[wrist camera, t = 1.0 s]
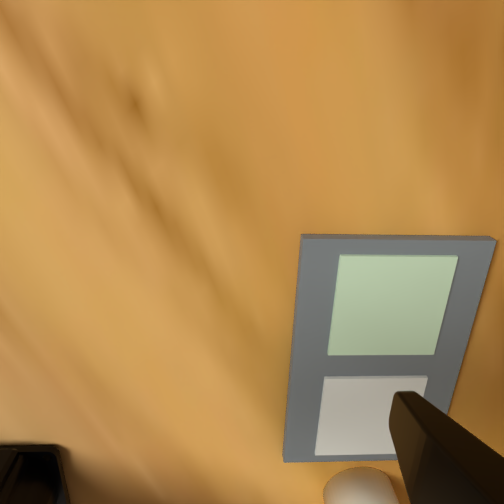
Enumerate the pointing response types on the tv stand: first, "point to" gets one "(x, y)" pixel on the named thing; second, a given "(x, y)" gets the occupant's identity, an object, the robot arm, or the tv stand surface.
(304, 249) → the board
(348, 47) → the tv stand surface
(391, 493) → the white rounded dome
